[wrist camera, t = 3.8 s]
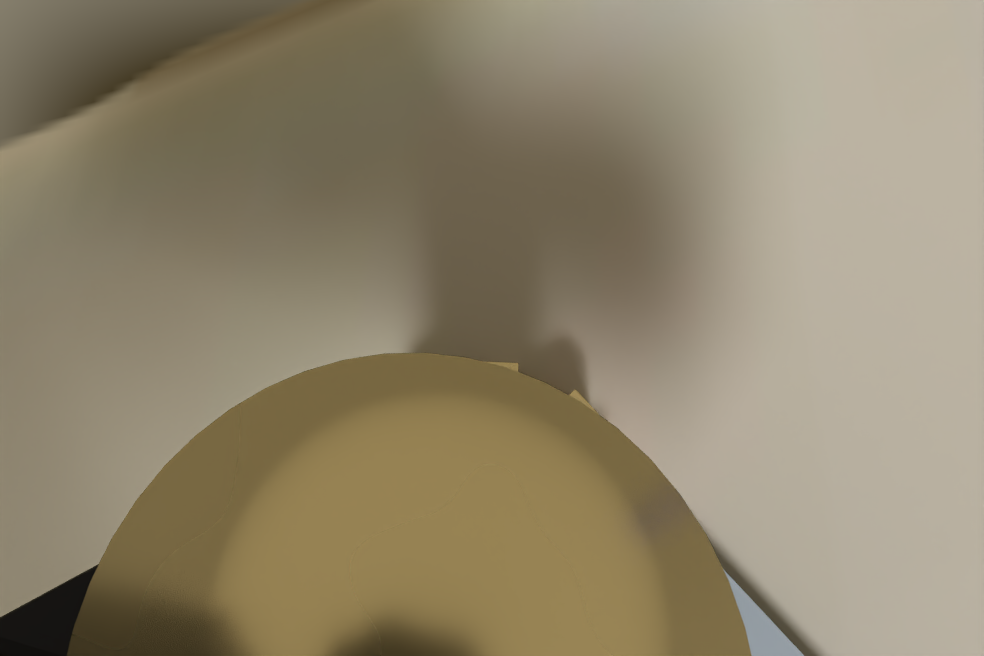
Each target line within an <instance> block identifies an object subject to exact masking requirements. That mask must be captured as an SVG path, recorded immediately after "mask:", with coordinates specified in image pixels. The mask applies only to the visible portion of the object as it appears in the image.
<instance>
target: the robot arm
mask: <svg viewBox="0 0 984 656" xmlns="http://www.w3.org/2000/svg"><path fill="white" fill-rule="evenodd" d="M98 565H99V564H98ZM98 565H96V566H94V567H92V568H91V569H89V570H87V571H85V572H83V573H81V574H80V575H78V576H76V577H74V578H72V579H70V580H68V581H67V582H65V583H63V584H61V585H59V586H57V587H55V588H54V589H52V590H50V591H48V592H46V593H44V594H43V595H41V596H39V597H37V598H35V599H33V600H31V601H30V602H28V603H26V604H24V605H22V606H20V607H19V608H17V609H15V610H13V611H11V612H9V613H7V614H6V615H4V616H2V617H0V656H67V653H68V649H69V645H70V640H71V636H72V632H73V628H74V625H75V622H76V620H77V617H78V614H79V611H80V609H81V606H82V603H83V600H84V598H85V595H86V592H87V589H88V587H89V584H90V581H91V579H92V577H93V575H94V573H95V571H96V569H97V567H98Z"/></svg>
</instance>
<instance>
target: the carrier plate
mask: <svg viewBox="0 0 984 656" xmlns="http://www.w3.org/2000/svg"><path fill="white" fill-rule="evenodd" d="M723 570H724V569H723ZM724 572H725V574H726V576H727V578H728V580H729V583H730V586H731V589H732V591H733V594H734V597H735V600H736V603H737V606H738V608H739V611H740V614H741V617H742V620H743V623H744V626H745V629H746V633H747V638H748V642H749V647H750V651H751V655H752V656H804V655H803V654H802V653H801V652H800V651H799V650H798V648H797V647H796V646H795V645H794V644H793V643H792V642H791V641H790V640H789V639H788V638H787V637H786V636H785V635H784V633H783V632H782V631H781V630H780V629H779V628H778V627H777V626H776V625H775V624H774V623H773V622H772V621H771V620H770V619H769V617H768V616H767V615H766V614H765V613H764V612H763V611H762V610H761V609H760V608H759V607H758V606H757V605H756V604H755V602H754V601H753V600H752V599H751V598H750V597H749V596H748V595H747V594H746V593H745V592H744V591H743V590H742V589H741V587H740V586H739V585H738V584H737V583H736V582H735V581H734V580H733V579H732V578H731V577H730V576H729V575H728V574H727V573H726V571H725V570H724Z"/></svg>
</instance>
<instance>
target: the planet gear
mask: <svg viewBox="0 0 984 656" xmlns="http://www.w3.org/2000/svg"><path fill="white" fill-rule="evenodd" d="M518 371H519V366H518V363H505V362H483V361H479V360H475V359H471V358H467V357H459V356H450V355H441V354H431V353H393V354H379V355H372V356H366V357H359V358H353V359H347V360H342V361H338V362H335V363H331V364H328V365H325V366H321V367H318V368H314V369H311V370H307V371H304V372H302V373H299V374H297V375H295V376H292V377H290V378H288V379H286V380H283V381H281V382H279V383H276V384H274V385H272V386H269V387H267V388H265V389H263V390H262V391H260V392H258V393H257V394H255V395H253V396H252V397H250V398H248V399H246V400H245V401H243V402H241V403H240V404H238V405H236V406H235V407H233V408H231V409H230V410H228V411H227V412H226V413H224V414H223V415H222V416H221V417H219V418H218V419H217V420H215V421H214V422H213V423H211V424H210V425H209V426H207V427H206V428H205V429H204V430H202V431H201V432H200V433H198V434H197V435H196V436H195V437H194V438H193V439H192V440H191V441H190V442H189V443H188V444H187V445H185V446H184V447H183V448H182V449H181V450H180V451H179V452H178V453H177V454H176V455H175V456H174V457H173V458H172V459H171V460H170V461H169V462H168V463H167V464H166V465H165V466H164V467H163V468H162V470H161V471H160V472H159V473H158V474H157V476H156V477H155V478H154V479H153V481H152V482H151V483H150V484H149V486H148V487H147V488H146V489H145V490H144V492H143V493H142V494H141V495H140V497H139V498H138V499H137V500H136V502H135V503H134V505H133V506H132V508H131V509H130V511H129V513H128V514H127V516H126V517H125V519H124V520H123V522H122V523H121V525H120V527H119V528H118V530H117V531H116V533H115V534H114V536H113V537H112V539H111V541H110V543H109V545H108V547H107V549H106V551H105V553H104V555H103V557H102V559H101V561H100V563H99V565H98V567H97V569H96V571H95V573H94V575H93V577H92V579H91V581H90V584H89V587H88V589H87V592H86V595H85V598H84V600H83V603H82V606H81V609H80V611H79V614H78V617H77V620H76V622H75V625H74V628H73V632H72V636H71V640H70V645H69V649H68V653H67V656H752V655H751V651H750V647H749V642H748V638H747V633H746V629H745V626H744V623H743V620H742V617H741V614H740V611H739V608H738V606H737V603H736V600H735V597H734V594H733V591H732V589H731V586H730V583H729V580H728V578H727V576H726V574H725V572H724V570H723V568H722V566H721V564H720V562H719V560H718V558H717V555H716V553H715V551H714V549H713V547H712V545H711V543H710V541H709V539H708V537H707V535H706V534H705V532H704V530H703V529H702V527H701V526H700V524H699V523H698V521H697V520H696V518H695V517H694V515H693V514H692V512H691V510H690V509H689V507H688V506H687V504H686V503H685V501H684V500H683V498H682V497H681V495H680V494H679V493H678V491H677V490H676V489H675V488H674V487H673V485H672V484H671V483H670V482H669V481H668V479H667V478H666V477H665V476H664V475H663V473H662V472H661V471H660V470H659V469H658V467H657V466H656V465H655V464H654V463H653V462H652V460H651V459H650V458H649V457H648V456H647V455H646V454H645V453H643V452H642V451H641V450H640V449H639V448H638V447H637V446H636V445H635V444H634V443H633V442H632V441H631V440H630V439H628V438H627V437H626V436H625V435H624V434H623V433H622V432H621V431H620V430H619V429H618V428H616V427H615V426H614V425H612V424H611V423H610V422H608V421H607V420H605V419H604V418H603V417H601V416H600V415H598V413H597V412H596V411H595V410H594V409H593V408H592V406H591V405H590V404H589V403H588V402H587V401H586V400H585V399H584V398H583V397H582V396H581V395H580V394H579V393H578V392H577V391H576V390H574V391H573V392H571V393H570V394H569V395H567V394H565V393H563V392H562V391H560V390H558V389H556V388H554V387H552V386H551V385H549V384H547V383H545V382H543V381H540V380H538V379H535V378H533V377H530V376H527V375H525V374H522V373H520V372H518Z"/></svg>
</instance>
